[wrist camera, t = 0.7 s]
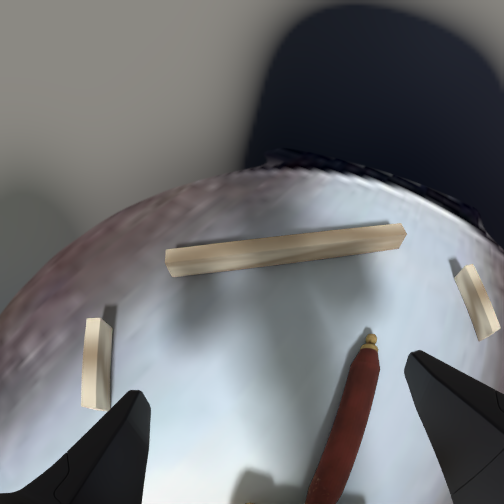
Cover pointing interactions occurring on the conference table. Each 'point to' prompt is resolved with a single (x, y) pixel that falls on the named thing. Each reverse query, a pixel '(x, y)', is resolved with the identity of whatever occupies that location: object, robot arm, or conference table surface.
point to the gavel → (347, 427)
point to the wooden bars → (270, 254)
